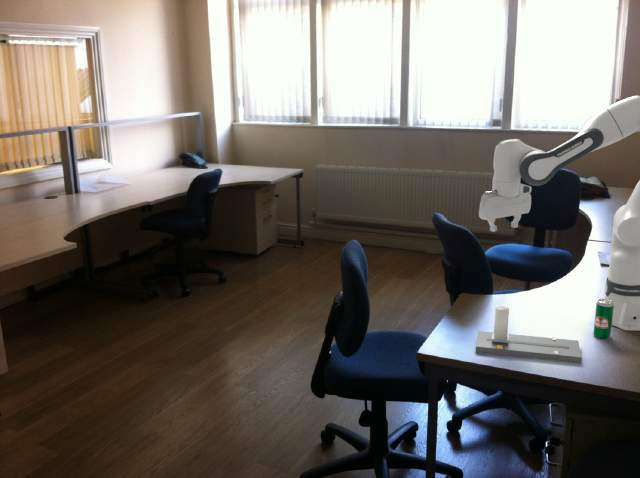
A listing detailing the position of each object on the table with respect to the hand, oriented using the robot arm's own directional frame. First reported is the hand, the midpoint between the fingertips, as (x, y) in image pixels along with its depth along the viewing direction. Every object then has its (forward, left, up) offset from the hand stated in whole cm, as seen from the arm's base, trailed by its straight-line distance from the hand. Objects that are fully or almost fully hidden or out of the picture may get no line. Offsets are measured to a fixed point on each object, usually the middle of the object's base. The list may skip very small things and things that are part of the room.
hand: (503, 229), depth 214 cm
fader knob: (-1, +27, -28) cm, 39 cm away
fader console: (-9, +27, -31) cm, 42 cm away
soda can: (-32, +11, -31) cm, 46 cm away
